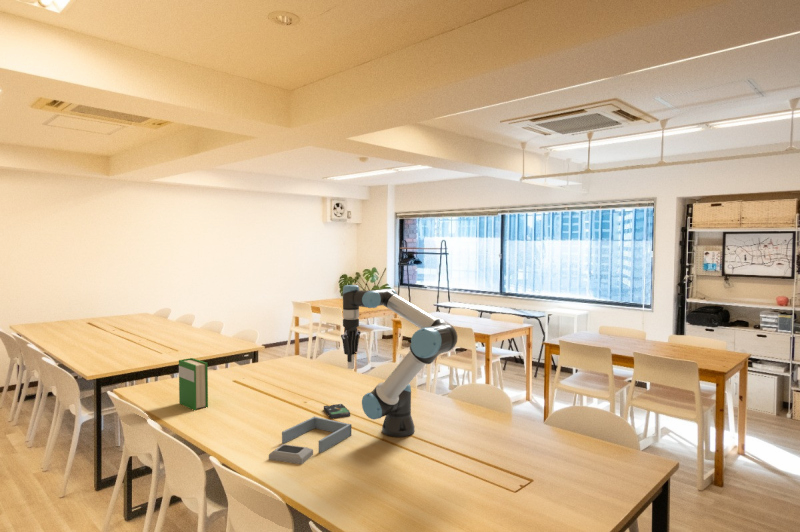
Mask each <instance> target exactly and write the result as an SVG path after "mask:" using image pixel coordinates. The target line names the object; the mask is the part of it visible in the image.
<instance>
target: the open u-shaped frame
mask: <svg viewBox="0 0 800 532" xmlns="http://www.w3.org/2000/svg"><path fill="white" fill-rule="evenodd" d="M314 429H317V430H322V431H325V432H326V431H327V432H330V434H328V435H327V436H325V437H323V438H321V439H318V453H320V454H322V453H324V452H325V451H327V450H329V449H330V448H332V447H334V446H335V445H337V444H339V443H340V442H342V441H344V440H346V439H347V438H349V437H351V436H352V424H350V423H347V422H344V421H343V422H341V421H338V420H334V419H330V418H329V419H328V418H323V417H318V416H312V417H310V418H308V419H306V420H304V421H302V422H299V423H298V424H296V425H293V426H291V427H289V428H287V429H285V430H283V431H282V432H281V444H286V443H288V442H290V441H292V440H294V439H296V438H298V437H300V436H302V435H304V434H306V433H308V432H310V431H312V430H314Z"/></svg>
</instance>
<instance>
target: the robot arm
mask: <svg viewBox="0 0 800 532" xmlns="http://www.w3.org/2000/svg"><path fill="white" fill-rule="evenodd" d="M380 306H383V307H385V308H387V309H389V310H390V311H392V312H393V313H395V314H397V315H399V316H400V317H402V318H403V319H404V320H406V321H408V322H409V323H411V324H412V325H414V326H416V327H418V328H419V329H418V330H416V331H414V333H413V334H412V336H411V339H410V344H409V351H408V353H407V354H406V355H405V356H404V357H403V359H401V361H400V362H399V363H398V364H397V366H396V367H395V368H394V369H393V371H392V372H391V373H390V375H388V377H387V378H386V379H385V380H384V381H382V382H379V383H378V384H377V385H376V386H375V387H374V388H373V390H372V391H370V392H366V393H365V394H364V395H363V397H362V399H361V406H362V411H363V412H364V414H365V415H366V417H368V418H369V419H371V420H377V419H378V420H379V419H381V418H383V417H384V420H383V423H382V427H381V429H382V433H383V434H384V435H386V436H389V437H395V438H400V437H408V436H411V435H413V434H414V433H415V430H416V429H415V423H414V420H413V416H412V386H411V384H410V383H411V382H412V381H413V380H414V379H415V377H416V376H417V375H418V374H419V373H420V372H421V370H422V369H423V368H424V367H425V366H426V365H431V364H432V363H433V362H434V361H435V360H436V359H437V357H438V356H440V354H441V355H442V354H443V353H447V352H450V351H451V350H453V349H454V348H455V347H456V345H457V343H458V334H457V330H456V328H455V327H454V326H453V325H452V324H450V323H449V322H447V321H446V320H445V319H443V318H440V317H438V318H436V317H434V316H433V315H431V314H430V313H429V312H426V311H425V310H423V309H421V308H419V307H418V306H417V305H414V304H413V303H411V302H410V301H408V300H406V299H404V298H402V296H399V295H398V293H397V291H396V290H395V289H394V288H387V287H386V288H380V289H371V290H360V287H359V285H356V284H345V285H343V287H342V317H343V319H342V326H343V328H344V329H343V330H344V331H343V334H341V335H340V338H341V340H342V347H343V354H344V355H346V356H347V358H346V359H347V369H350V370H354V369H355V355H357V353H358V349H359V343H360V342H359V341H360V335H361V331H359V330H358V327H359V325H360V319H359V317H360V308H361V307H362V308H368V309H376V308H378V307H380Z"/></svg>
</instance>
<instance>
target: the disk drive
mask: <svg viewBox="0 0 800 532" xmlns="http://www.w3.org/2000/svg"><path fill="white" fill-rule="evenodd" d="M323 412H325V414H326V415H327V416H328V415H329V416H328V417H329V419H330V420H334V419H340V417H341V418H346V417H351V411H350V410H349V409H348V408H347V407H346V406H345V405H344V404H343V403H339V404H332V405H323ZM333 418H334V419H333Z"/></svg>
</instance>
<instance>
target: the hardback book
mask: <svg viewBox="0 0 800 532" xmlns="http://www.w3.org/2000/svg"><path fill="white" fill-rule="evenodd" d="M208 367H209V366H208V362H205V361H203V360H199V359H196V358H193V357H189V358H184V359H179V360H178V390H179V391H178V397H179V401H178V402H179V403H180V404H179V405H182V406H183V405H184V407H186V408H188V409H190V410H192V409H193V410H192V411H194V410H196V411H197V409H201V408H206V407H207V408H209V388H208V387H209V385H208V384H209V381H208V380H209V378H208V373H209V372H208V371H209V370H208Z"/></svg>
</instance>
